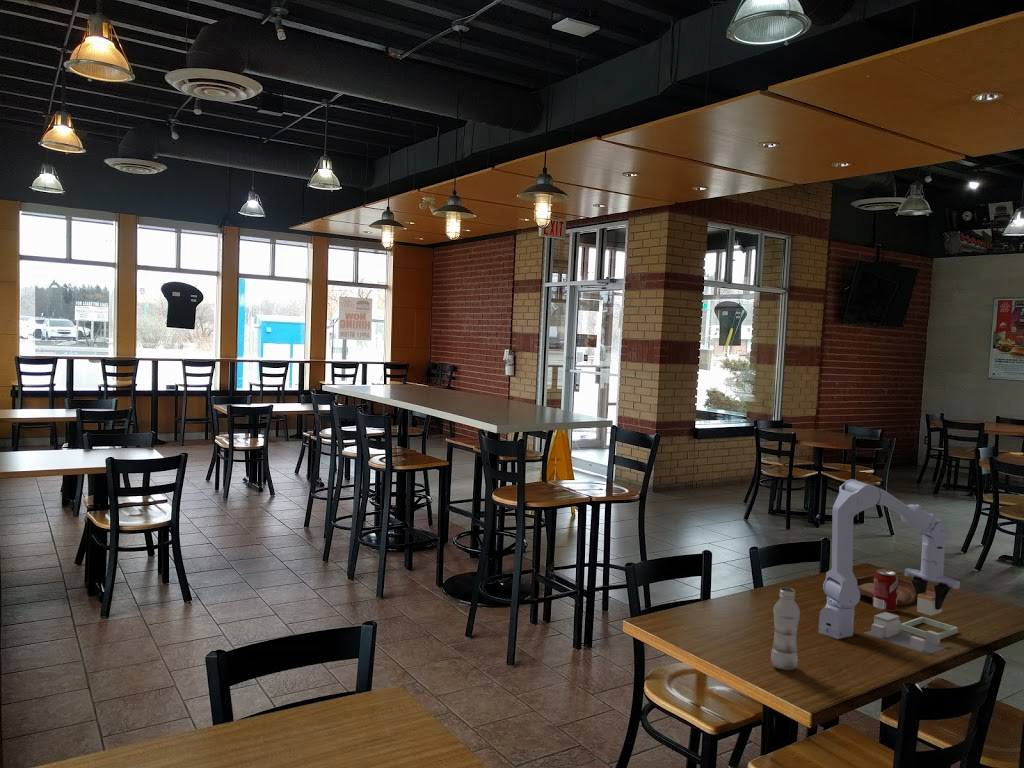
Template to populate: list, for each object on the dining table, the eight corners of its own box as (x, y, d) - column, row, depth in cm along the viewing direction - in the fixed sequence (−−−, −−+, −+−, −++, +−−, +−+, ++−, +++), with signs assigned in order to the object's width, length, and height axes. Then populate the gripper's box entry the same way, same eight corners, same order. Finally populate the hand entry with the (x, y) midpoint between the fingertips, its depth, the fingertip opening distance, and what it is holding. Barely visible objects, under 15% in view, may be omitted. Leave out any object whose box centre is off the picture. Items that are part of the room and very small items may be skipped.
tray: (936, 643, 210) (936, 635, 210) (899, 631, 219) (900, 624, 219) (957, 635, 217) (957, 627, 217) (921, 624, 226) (921, 616, 226)
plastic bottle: (790, 662, 194) (794, 585, 193) (802, 674, 187) (805, 594, 186) (766, 662, 194) (769, 585, 193) (776, 673, 187) (780, 594, 186)
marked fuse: (931, 615, 214) (932, 598, 214) (916, 611, 217) (917, 594, 217) (941, 611, 218) (942, 594, 217) (927, 607, 221) (928, 590, 221)
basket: (898, 612, 236) (899, 597, 236) (835, 595, 251) (835, 580, 251) (925, 598, 251) (926, 583, 251) (864, 583, 266) (865, 569, 266)
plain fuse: (886, 637, 212) (887, 619, 211) (873, 632, 215) (874, 615, 215) (898, 633, 215) (899, 616, 215) (884, 628, 218) (885, 611, 218)
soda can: (883, 614, 234) (885, 575, 233) (867, 606, 240) (869, 569, 240) (901, 612, 236) (903, 574, 235) (885, 605, 242) (887, 568, 241)
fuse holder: (927, 657, 200) (928, 643, 200) (863, 635, 215) (863, 622, 215) (948, 649, 206) (949, 635, 206) (884, 628, 221) (884, 615, 221)
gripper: (966, 564, 213) (963, 611, 214) (914, 552, 225) (911, 597, 226) (953, 567, 209) (951, 616, 210) (901, 555, 221) (899, 600, 222)
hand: (930, 606), depth 218 cm, fingers closed on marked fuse, 4 cm apart
